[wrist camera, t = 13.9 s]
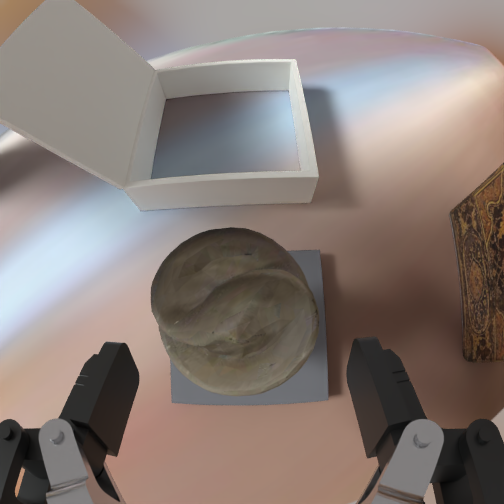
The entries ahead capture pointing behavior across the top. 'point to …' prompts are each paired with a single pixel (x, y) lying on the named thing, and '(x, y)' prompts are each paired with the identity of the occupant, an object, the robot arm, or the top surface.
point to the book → (481, 268)
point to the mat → (298, 386)
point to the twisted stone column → (234, 312)
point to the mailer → (134, 109)
